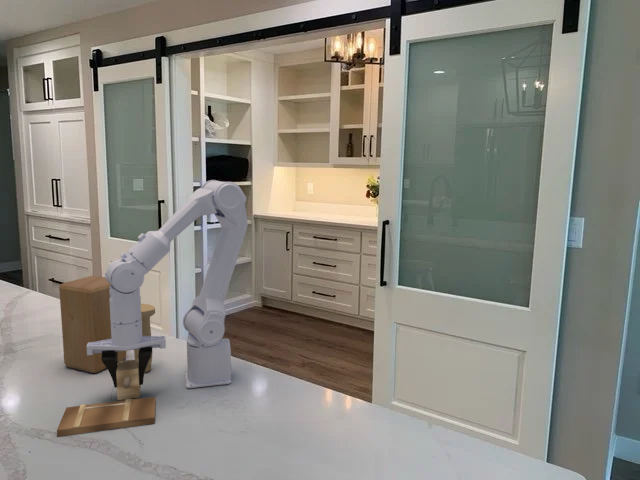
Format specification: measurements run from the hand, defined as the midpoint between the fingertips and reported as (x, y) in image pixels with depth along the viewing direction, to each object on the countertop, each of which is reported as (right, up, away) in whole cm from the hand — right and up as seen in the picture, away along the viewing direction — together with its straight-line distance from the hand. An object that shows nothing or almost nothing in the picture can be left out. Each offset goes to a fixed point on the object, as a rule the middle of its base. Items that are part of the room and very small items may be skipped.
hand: (129, 384), depth 96 cm
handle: (-2, -1, +13) cm, 13 cm away
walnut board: (-1, -4, -7) cm, 9 cm away
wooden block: (-14, 0, +16) cm, 22 cm away
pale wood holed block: (0, -2, -1) cm, 2 cm away
